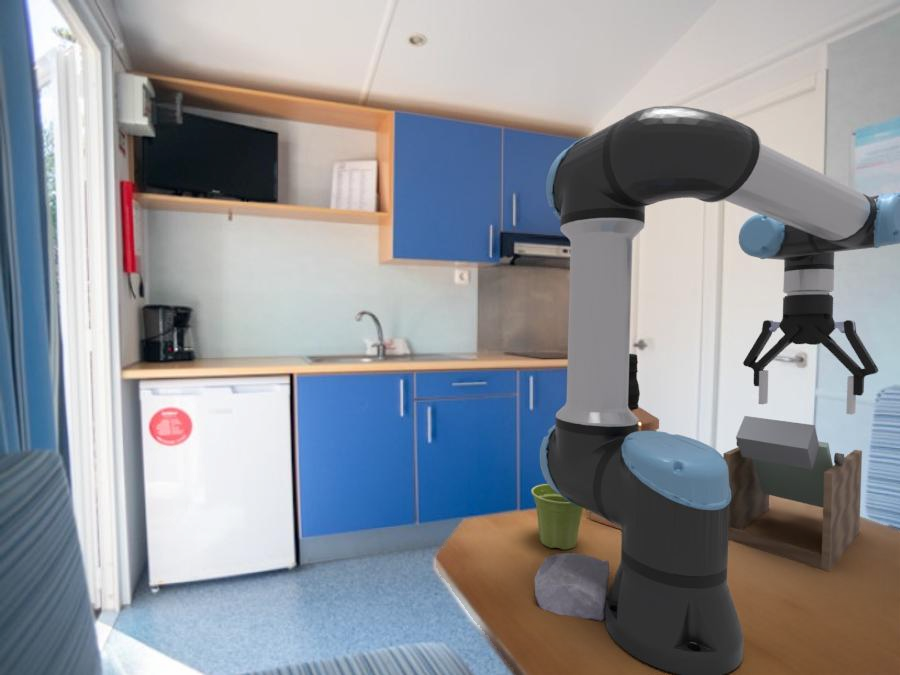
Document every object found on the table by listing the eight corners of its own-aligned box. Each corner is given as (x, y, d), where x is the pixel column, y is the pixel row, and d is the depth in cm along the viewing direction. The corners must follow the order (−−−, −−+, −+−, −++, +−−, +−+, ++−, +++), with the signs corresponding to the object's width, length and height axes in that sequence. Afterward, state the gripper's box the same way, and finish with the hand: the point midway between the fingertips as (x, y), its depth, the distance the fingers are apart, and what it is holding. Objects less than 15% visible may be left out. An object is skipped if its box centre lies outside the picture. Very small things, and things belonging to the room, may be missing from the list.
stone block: (533, 624, 64) (612, 625, 61) (526, 587, 64) (604, 585, 61) (546, 582, 75) (614, 581, 72) (541, 551, 75) (607, 548, 72)
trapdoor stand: (829, 571, 75) (832, 461, 74) (721, 537, 86) (723, 442, 86) (859, 532, 89) (862, 440, 89) (763, 507, 101) (765, 426, 100)
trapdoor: (815, 450, 74) (823, 421, 77) (729, 436, 83) (740, 410, 86) (834, 535, 84) (841, 507, 86) (755, 514, 93) (764, 489, 96)
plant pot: (558, 526, 90) (559, 480, 90) (598, 546, 82) (599, 495, 82) (519, 538, 85) (520, 489, 85) (558, 560, 77) (559, 506, 77)
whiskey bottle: (613, 505, 101) (616, 351, 100) (661, 519, 94) (664, 354, 93) (586, 518, 94) (589, 353, 93) (636, 535, 87) (639, 356, 86)
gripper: (901, 292, 84) (897, 415, 84) (741, 297, 102) (738, 398, 103) (894, 290, 79) (890, 421, 79) (727, 296, 98) (724, 401, 98)
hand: (804, 408), depth 91 cm, fingers open, 13 cm apart
